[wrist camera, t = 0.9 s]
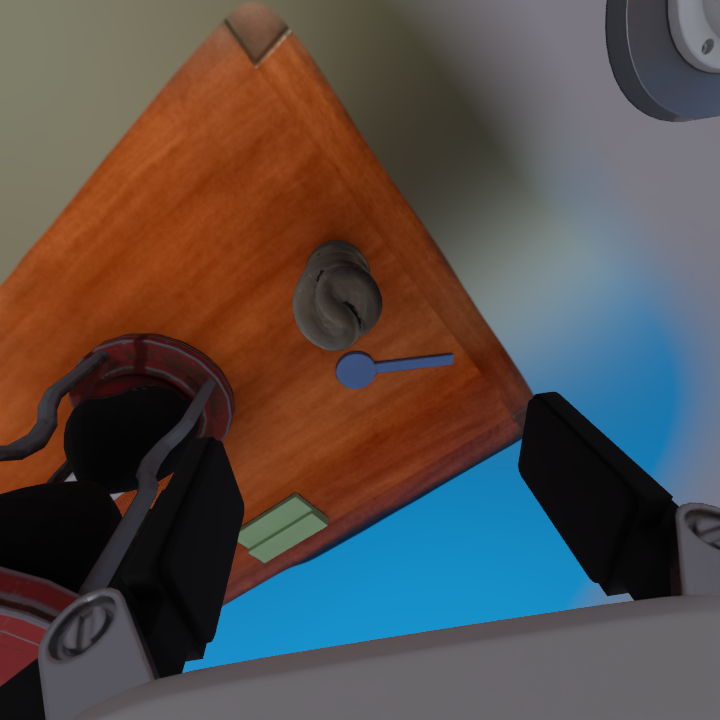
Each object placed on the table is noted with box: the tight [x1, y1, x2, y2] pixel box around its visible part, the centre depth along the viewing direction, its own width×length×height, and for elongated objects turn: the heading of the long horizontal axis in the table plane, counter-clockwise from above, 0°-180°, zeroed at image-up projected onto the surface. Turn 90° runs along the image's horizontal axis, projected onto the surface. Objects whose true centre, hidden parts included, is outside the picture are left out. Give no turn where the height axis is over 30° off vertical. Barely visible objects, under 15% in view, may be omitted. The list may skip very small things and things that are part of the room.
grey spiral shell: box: [292, 240, 382, 351], centre depth 27 cm, size 6×6×15 cm
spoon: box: [336, 352, 453, 389], centre depth 39 cm, size 13×4×1 cm, turn 95°
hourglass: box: [0, 334, 235, 686], centre depth 28 cm, size 16×16×25 cm
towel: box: [237, 493, 328, 563], centre depth 49 cm, size 12×7×1 cm, turn 127°
